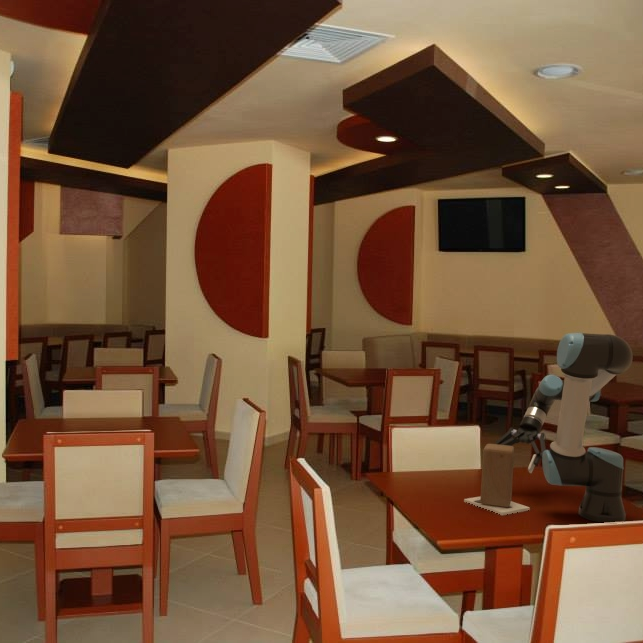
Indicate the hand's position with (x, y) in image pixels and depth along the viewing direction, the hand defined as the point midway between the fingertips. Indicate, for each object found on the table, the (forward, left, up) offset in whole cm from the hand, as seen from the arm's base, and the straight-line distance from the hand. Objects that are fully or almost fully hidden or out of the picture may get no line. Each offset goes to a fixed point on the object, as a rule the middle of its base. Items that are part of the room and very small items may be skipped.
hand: (512, 467), depth 283 cm
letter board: (-3, +10, -12) cm, 16 cm away
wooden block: (-3, +10, -11) cm, 16 cm away
